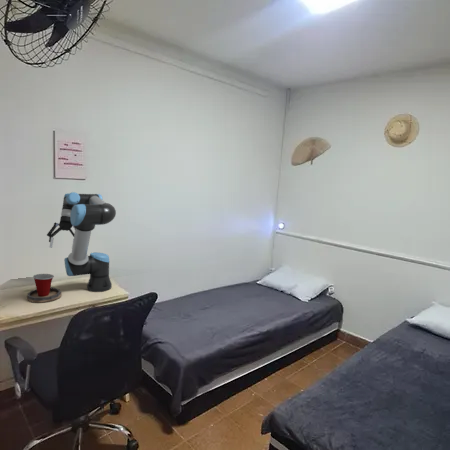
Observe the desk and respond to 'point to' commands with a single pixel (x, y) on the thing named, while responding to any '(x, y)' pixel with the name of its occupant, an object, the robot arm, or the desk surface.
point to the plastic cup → (43, 283)
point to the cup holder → (52, 296)
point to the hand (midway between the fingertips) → (61, 248)
